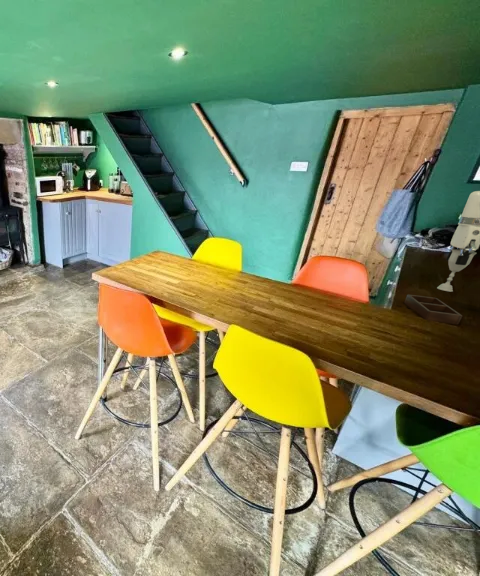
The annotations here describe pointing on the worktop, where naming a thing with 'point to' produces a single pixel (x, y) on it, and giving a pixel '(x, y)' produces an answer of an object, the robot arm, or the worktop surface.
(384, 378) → the worktop surface
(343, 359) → the worktop surface
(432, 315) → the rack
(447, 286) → the chalice
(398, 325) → the worktop surface
